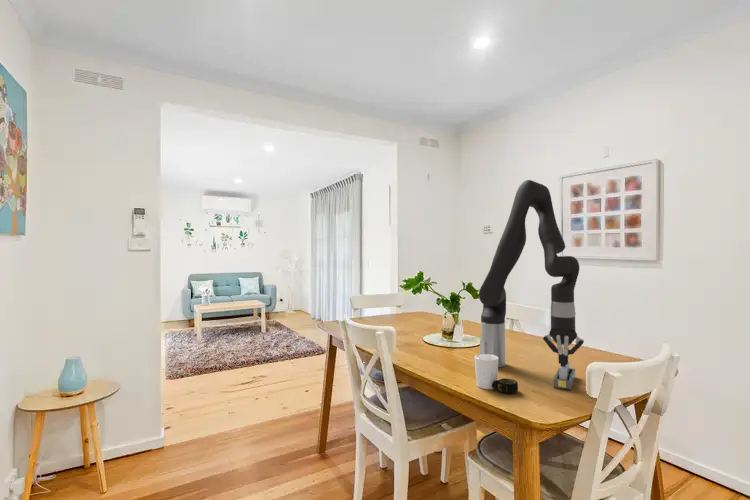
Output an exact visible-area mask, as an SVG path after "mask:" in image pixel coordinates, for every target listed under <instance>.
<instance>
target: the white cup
mask: <svg viewBox="0 0 750 500" xmlns="http://www.w3.org/2000/svg"><path fill="white" fill-rule="evenodd" d="M473 358H474V369H475V370H474V371H475V378H476V387H478V388H479V389H482V390H494V388H493V387H492V384H493V382H494V381H497V380H499V379H498V378H499V376H498V375H499V367H498V357H497V356H495V355H491V354H480V353H479V354H475V355H474V357H473Z"/></svg>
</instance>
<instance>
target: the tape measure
mask: <svg viewBox="0 0 750 500" xmlns="http://www.w3.org/2000/svg"><path fill="white" fill-rule="evenodd" d="M492 387H493V388H494V389H493V390H494V391H499V392H501V393H503V394H515V393H517V392H518V391H519V383H518V381H517V380H515V379H513V378H504V377H503V378H501V379H500V378H499V379H497V381H494V382H493V384H492Z"/></svg>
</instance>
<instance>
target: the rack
mask: <svg viewBox="0 0 750 500" xmlns="http://www.w3.org/2000/svg"><path fill="white" fill-rule="evenodd" d="M567 365H568V381H567V380H561V379H559V368H558V369H557V371H556V373H555V375H554V378H553V389H557V390H564V391H570V392H572V390H573V385H574V383H575V380H576V368H572V367H571V362H570V361H568V364H567Z"/></svg>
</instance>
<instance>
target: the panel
mask: <svg viewBox="0 0 750 500" xmlns="http://www.w3.org/2000/svg"><path fill="white" fill-rule="evenodd" d="M558 369H559V379H561V380H567V381H568V365H566V366H561V364H559V367H558Z"/></svg>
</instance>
